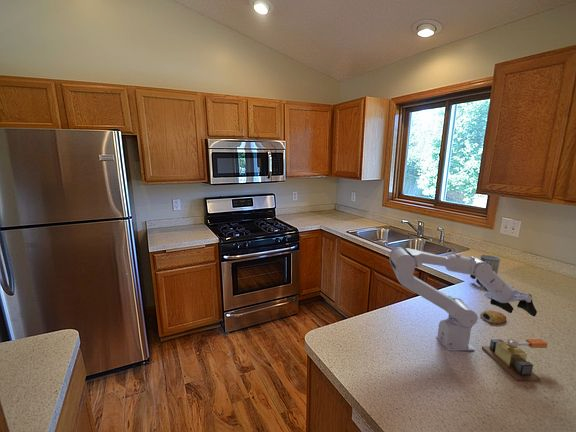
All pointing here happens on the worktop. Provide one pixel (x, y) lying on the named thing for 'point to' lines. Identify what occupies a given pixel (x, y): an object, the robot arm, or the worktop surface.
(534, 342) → the lever
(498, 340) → the valve
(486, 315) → the pastry
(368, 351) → the worktop surface
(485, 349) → the plank
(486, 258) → the milk frother
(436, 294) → the robot arm
